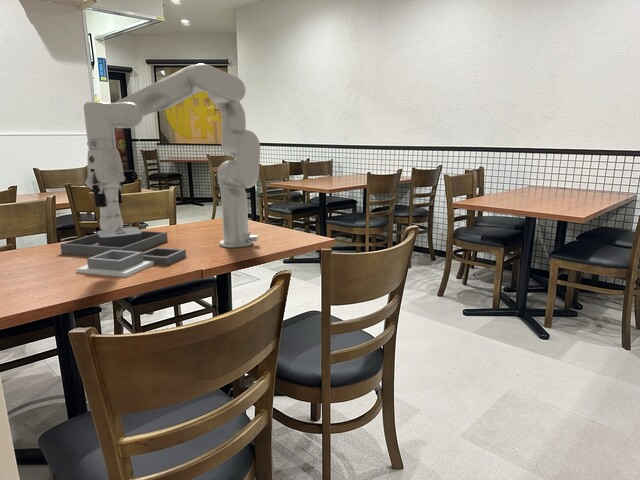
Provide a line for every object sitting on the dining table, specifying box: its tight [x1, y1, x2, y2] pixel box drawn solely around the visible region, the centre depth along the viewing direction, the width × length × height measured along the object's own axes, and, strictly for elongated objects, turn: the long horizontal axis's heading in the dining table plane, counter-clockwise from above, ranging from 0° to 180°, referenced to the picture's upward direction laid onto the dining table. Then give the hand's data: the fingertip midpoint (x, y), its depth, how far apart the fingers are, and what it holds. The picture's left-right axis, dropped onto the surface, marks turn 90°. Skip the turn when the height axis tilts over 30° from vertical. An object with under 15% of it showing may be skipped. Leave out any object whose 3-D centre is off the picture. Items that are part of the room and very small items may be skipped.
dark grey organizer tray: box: [59, 230, 169, 257], centre depth 167 cm, size 26×26×4 cm
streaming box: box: [96, 226, 143, 248], centre depth 168 cm, size 14×14×5 cm
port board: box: [76, 250, 155, 278], centre depth 141 cm, size 18×14×4 cm
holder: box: [142, 246, 187, 266], centre depth 150 cm, size 12×11×2 cm
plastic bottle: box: [97, 181, 124, 232], centre depth 136 cm, size 6×7×20 cm
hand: (109, 204), depth 136 cm, fingers closed on plastic bottle, 6 cm apart
